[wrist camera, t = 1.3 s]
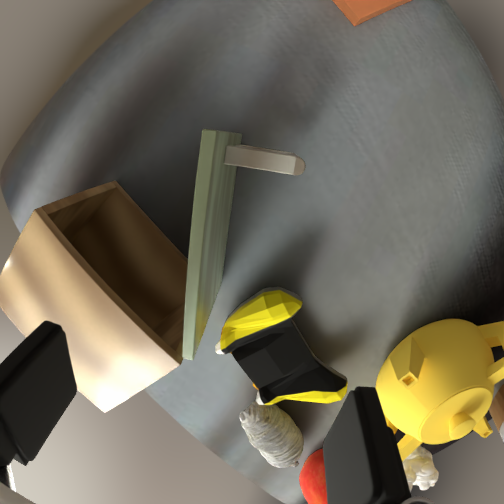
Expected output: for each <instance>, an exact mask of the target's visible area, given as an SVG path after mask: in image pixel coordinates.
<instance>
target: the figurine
mask: <svg viewBox="0 0 504 504" xmlns="http://www.w3.org/2000/svg"><path fill="white" fill-rule="evenodd" d="M403 467H404V470H405V474H406V478H407V482H408V485H409V489H410V491H411V489H412V486H413V485H418V486H419V487H420V489H421V490H426V489H428V488H429V486H434V484H435V482H437V480H438V474H439V472H437V470H436V469H435V468H434V464H433V463H432V455H431V453H430V452H429V451H427V450H426V449H425V448H424V447H421V446H420V445H419V446H418V447H417V448H416V449H415V450H414V451H413V452H412V453H411V454H410V455H409V456H408V457H407V458H406V459H404V462H403ZM433 483H434V484H433ZM410 493H411V492H410Z"/></svg>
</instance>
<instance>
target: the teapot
mask: <svg viewBox="0 0 504 504" xmlns="http://www.w3.org/2000/svg"><path fill="white" fill-rule="evenodd" d="M500 345H502V347H503V349H504V321H501V322H496V323H491V324H486V325H481V326H476V325H475V324H473V323H471V322H469V321H466V320H462V319H445V320H440V321H436V322H433V323H430V324H427V325H425V326H423V327H421V328H419V329H417V330H416V331H414V332H412V333H411V334H410V335H408V336H407V337H406V338H405V339H403V340H402V341H401V342H400V343H399V344H398V345H397V346H396V347H395V348H394V350H393V351H392V352H391V353H390V354H389V356H388V358H387V359H386V360H385V362H384V364H383V365H382V367H381V369H380V372H379V374H378V377H377V382H376V390H377V393H378V396H379V400H380V403H381V406H382V409H383V413H384V416H385V419H386V423H387V426H388V427H390V428H391V429H392V430H393V432H394V435H395V433H396V431H397V429H399V430H401V431H402V432H404V433H405V434H406V435H405V436H404V437H403V438H402V439H401V440H400V441H399V443H398V444H397V445H398V449H399V452H400V456H401V459H402V461H403V460H404V459H406V458H407V457H408V456H409V455H410V454H411V453H412V452H413V451H414V450H415V449H416V448H417V447H418V446H419V445H420V444H421V443H423V442H424V443H427V444H441V443H446V442H449V441H451V440H454V439H459V438H462V437H464V436H465V435H467V434H468V433H469V432H470V431H471V430H472V429H473V430H474V431H475V432H477V433H478V434H480V436H481V437H484V438H486V437H487V436H489V435H490V434H491V433H492V432H493V431H492V429H491V427H490V425H489V423H488V421H487V419H486V417H485V414H486V413H487V411H488V409H489V407H490V405H491V403H492V399H493V394H494V384H496V383H497V382H499V381H500V380H502V379H503V378H504V357H503V358H502V359H500V360H498V361H497V362H495V363H494V358H493V354H492V350H491V348H490V347H495V346H500Z"/></svg>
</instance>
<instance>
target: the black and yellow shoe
mask: <svg viewBox="0 0 504 504" xmlns="http://www.w3.org/2000/svg"><path fill="white" fill-rule="evenodd" d="M302 303H303V300H302V298H301V297H300V296H299V295H297V294H295V293H293V292H291V291H288V290H286V289H283V288H281V287H279V286H278V287H271V288H265V289H262V290H261V291H259V292H258V293H256V294H255V295H253V296H252V297H250V298H249V299H247V300H246V301H244V302H243V303H241V304H240V305H239V306H238V307H237V308H236V309H235V310H234V311H233V312H232V313H231V314H230V315H229V316H228V318H227V320H226V322H225V325H224V327H223V328H222V332H221V339H220V340H219V342H218V343H217V345H216V352H217V353H218V354H227V353H231V354H232V355H233V356H234V358H235V359H236V361H237V362H238V364H239V365H240V366H241V368H242V369H243V370H244V371H245V373H246V374H247V375H248V377H249V378H250V379H251V380H252V382H253V386H254V387H255V388H256V389H258V394H257V398H256V401H257V403H258V404H259V405H272V404H275V403H277V402H279V401H282V400H284V399H289V400H298V401H307V402H318V403H332V402H335V401H339V400H342V398H343V397H344V395H345V394H346V392H347V384H348V382H347V378H346V377H345V376H344V375H342V374H340V373H339V372H337V371H336V370H334V369H332V368H331V367H329V366H328V365H326V364H325V363H323V362H322V361H320V360H319V359H318V358H317V357H316V356H315V355H314V354H313V353H312V351H311V350H310V348H309V346H308V345H307V343H306V341H305V340H304V338H303V336H302V335H301V333H300V331H299V330H298V328H297V326H296V325H295V323H294V321H293V320H292V317H293V316H295V315H296V314H297V312H298V311H299V309H300V308H301V306H302Z"/></svg>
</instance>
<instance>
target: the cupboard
mask: <svg viewBox="0 0 504 504" xmlns="http://www.w3.org/2000/svg"><path fill="white" fill-rule="evenodd" d="M187 266H188V259H187V258H186V257H185V256H184V255H183V254H182V253H181V252H180V251H179V250H178V249H177V248H176V247H175V246H174V244H173V243H172V242H171V241H170V240H169V239H168V238H167V237H166V236H165V235H164V234H163V233H162V232H161V230H160V229H159V228H158V227H157V226H156V225H155V224H154V223H153V222H152V221H151V220H150V218H149V217H148V216H147V215H146V214H145V213H144V212H143V211H142V210H141V209H140V207H139V206H138V205H137V204H136V203H135V202H134V201H133V200H132V198H131V197H130V196H129V195H128V194H127V193H126V192H125V191H124V189H123V188H122V187H121V186H120V185H119V184H118V183H117V182H116V181H112V182H109V183H106V184H103V185H100V186H97V187H94V188H91V189H88V190H85V191H82V192H79V193H77V194H74V195H71V196H68V197H66V198H63V199H60V200H57V201H55V202H52V203H50V204H47V205H44V206H42V207H40V208H37V209H35V210H34V211H33V213H32V215H31V217H30V218H29V220H28V222H27V224H26V225H25V227H24V229H23V231H22V233H21V234H20V237H19V238H18V240H17V242H16V244H15V246H14V248H13V250H12V252H11V254H10V256H9V258H8V260H7V262H6V264H5V266H4V268H3V270H2V273H1V274H0V307H1V309H2V310H3V311H4V312H5V314H6V315H7V316H8V317H9V319H11V321H12V322H13V323H14V324H15V326H16V327H17V328H18V329H19V330H20V332H21V333H22V334H23V335H24V336H25V337H26V338H27V337H28V336H29V335H30V334H31V333H32V332H33V331H34V330H35V329H36V328H37V327H38V326H39V325H40V324H41V323H42V322H44V321H45V320H48V321H50V322H53V323H56V324H59V325H61V327H62V329H63V331H65V333H66V338H67V343H68V349H69V354H70V358H71V363H72V368H73V372H74V376H75V380H76V384H77V389H78V390H79V391H80V392H81V393H82V394H83V395H84V396H85V397H87V398H88V399H89V400H90V401H91V402H92V403H94V404H95V405H96V406H97V407H98V408H100V409H101V410H102V411H103V412H107V411H109V410H111V409H112V408H114V407H115V406H117V405H118V404H120V403H122V402H124V401H125V400H127V399H128V398H130V397H131V396H133V395H135V394H136V393H138V392H139V391H141V390H143V389H144V388H146V387H147V386H149V385H150V384H152V383H154V382H155V381H157V380H158V379H160V378H161V377H163V376H164V375H166V374H167V373H169V372H171V371H172V370H174V369H175V368H177V367H178V366H180V365H181V363H182V360H183V357H182V352H183V329H184V310H185V294H186V280H187Z"/></svg>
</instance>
